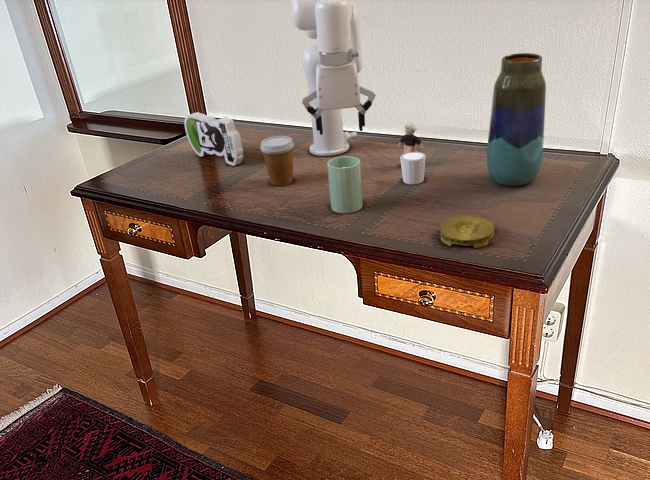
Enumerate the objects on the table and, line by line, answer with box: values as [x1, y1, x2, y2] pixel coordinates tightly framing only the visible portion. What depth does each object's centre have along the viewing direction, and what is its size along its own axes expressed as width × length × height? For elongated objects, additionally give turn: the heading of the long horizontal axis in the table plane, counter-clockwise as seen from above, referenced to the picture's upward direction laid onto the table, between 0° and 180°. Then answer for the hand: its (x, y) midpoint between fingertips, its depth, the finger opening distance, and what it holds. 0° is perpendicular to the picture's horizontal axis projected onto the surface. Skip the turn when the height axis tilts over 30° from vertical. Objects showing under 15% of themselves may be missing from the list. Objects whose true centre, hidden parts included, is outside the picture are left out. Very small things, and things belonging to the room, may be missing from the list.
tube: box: [326, 155, 364, 214], centre depth 160 cm, size 8×8×12 cm
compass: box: [439, 215, 495, 249], centre depth 143 cm, size 12×12×2 cm
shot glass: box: [399, 151, 427, 185], centre depth 171 cm, size 7×7×7 cm
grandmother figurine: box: [398, 121, 424, 154], centre depth 179 cm, size 8×4×13 cm, turn 68°
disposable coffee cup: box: [259, 135, 295, 187], centre depth 178 cm, size 10×10×12 cm
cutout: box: [183, 111, 244, 166], centre depth 199 cm, size 15×3×25 cm
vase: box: [486, 52, 547, 187], centre depth 159 cm, size 14×14×31 cm
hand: (341, 131), depth 153 cm, fingers open, 9 cm apart
